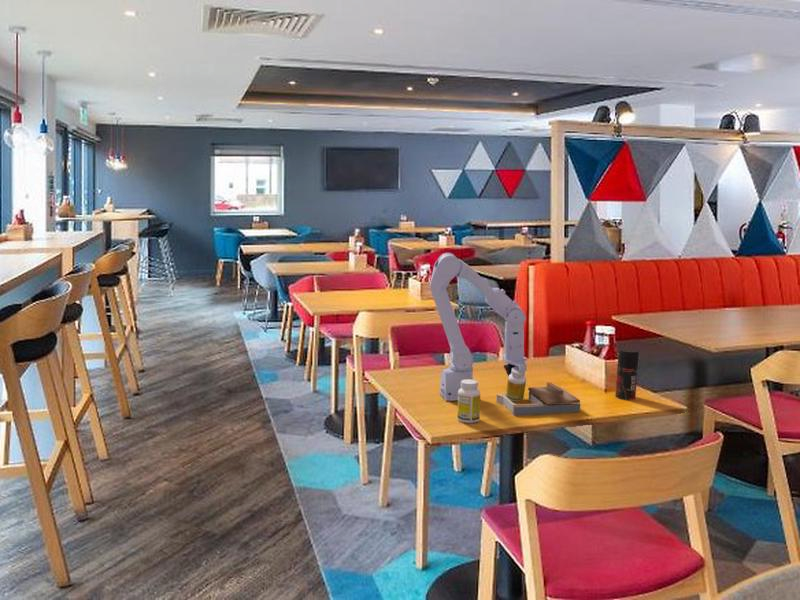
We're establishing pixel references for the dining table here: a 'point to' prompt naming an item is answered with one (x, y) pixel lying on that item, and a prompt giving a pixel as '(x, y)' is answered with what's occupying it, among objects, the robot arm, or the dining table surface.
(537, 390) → the cover
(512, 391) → the supplement bottle
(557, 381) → the dining table surface
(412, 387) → the dining table surface
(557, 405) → the socket
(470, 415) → the pill bottle
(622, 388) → the deodorant
